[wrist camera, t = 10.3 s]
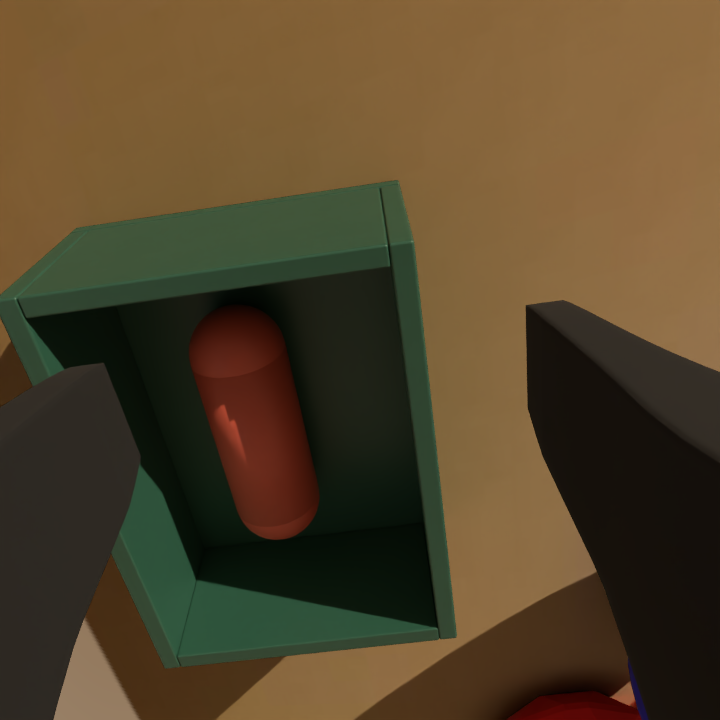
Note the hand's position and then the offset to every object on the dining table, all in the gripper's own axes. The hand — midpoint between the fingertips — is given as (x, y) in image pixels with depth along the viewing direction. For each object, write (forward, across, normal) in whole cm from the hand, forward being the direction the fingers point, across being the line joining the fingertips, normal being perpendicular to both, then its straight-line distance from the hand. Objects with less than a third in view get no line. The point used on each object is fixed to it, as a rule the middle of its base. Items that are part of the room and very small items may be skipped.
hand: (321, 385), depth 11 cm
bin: (+10, +3, +6) cm, 13 cm away
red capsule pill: (+10, +3, +6) cm, 12 cm away
